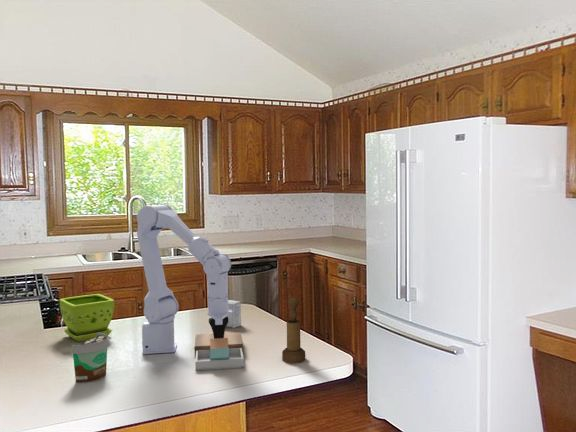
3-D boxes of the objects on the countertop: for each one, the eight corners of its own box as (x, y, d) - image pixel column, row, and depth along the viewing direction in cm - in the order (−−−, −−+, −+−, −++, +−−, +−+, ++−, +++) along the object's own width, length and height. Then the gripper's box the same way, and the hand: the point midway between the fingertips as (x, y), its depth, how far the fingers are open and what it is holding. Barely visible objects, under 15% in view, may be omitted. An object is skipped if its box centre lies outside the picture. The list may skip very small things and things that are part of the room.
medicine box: (241, 325, 185) (241, 301, 184) (233, 328, 181) (233, 303, 181) (224, 322, 189) (223, 299, 189) (216, 325, 185) (215, 301, 185)
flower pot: (73, 345, 163) (72, 305, 163) (59, 336, 174) (57, 298, 173) (116, 336, 173) (115, 298, 172) (100, 328, 183) (99, 292, 182)
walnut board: (194, 358, 150) (194, 346, 150) (195, 345, 162) (195, 334, 162) (243, 355, 152) (243, 343, 152) (241, 343, 164) (240, 332, 164)
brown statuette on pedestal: (288, 364, 144) (288, 300, 143) (278, 358, 149) (277, 296, 148) (309, 360, 147) (309, 297, 146) (298, 354, 152) (297, 293, 151)
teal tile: (210, 355, 145) (210, 364, 143) (210, 349, 141) (210, 358, 139) (228, 354, 146) (228, 362, 144) (228, 347, 141) (229, 356, 140)
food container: (94, 386, 130) (93, 346, 129) (72, 384, 131) (70, 345, 130) (119, 369, 142) (118, 333, 141) (99, 367, 143) (98, 332, 142)
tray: (195, 370, 140) (195, 361, 140) (196, 358, 149) (196, 350, 149) (243, 367, 142) (243, 358, 142) (241, 356, 151) (241, 347, 151)
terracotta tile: (210, 358, 146) (210, 352, 144) (210, 345, 150) (210, 338, 148) (228, 357, 146) (228, 351, 145) (227, 344, 150) (227, 337, 149)
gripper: (233, 301, 143) (233, 350, 144) (231, 291, 157) (231, 335, 158) (207, 302, 142) (208, 351, 143) (207, 291, 156) (208, 336, 157)
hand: (218, 343), depth 150 cm, fingers closed
